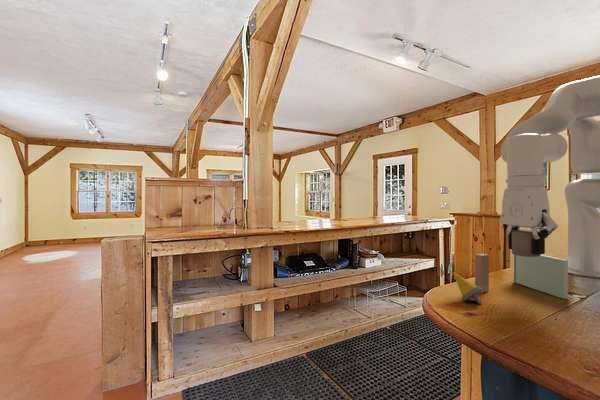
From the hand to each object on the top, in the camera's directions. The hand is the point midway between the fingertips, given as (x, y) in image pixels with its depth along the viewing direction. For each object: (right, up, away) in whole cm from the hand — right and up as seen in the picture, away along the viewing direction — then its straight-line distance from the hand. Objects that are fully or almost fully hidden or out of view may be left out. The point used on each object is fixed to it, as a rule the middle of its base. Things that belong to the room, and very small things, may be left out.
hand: (525, 250), depth 78 cm
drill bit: (-16, -13, -1) cm, 21 cm away
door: (+9, -12, +7) cm, 16 cm away
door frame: (+4, -12, +12) cm, 18 cm away
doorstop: (0, -1, 0) cm, 1 cm away
